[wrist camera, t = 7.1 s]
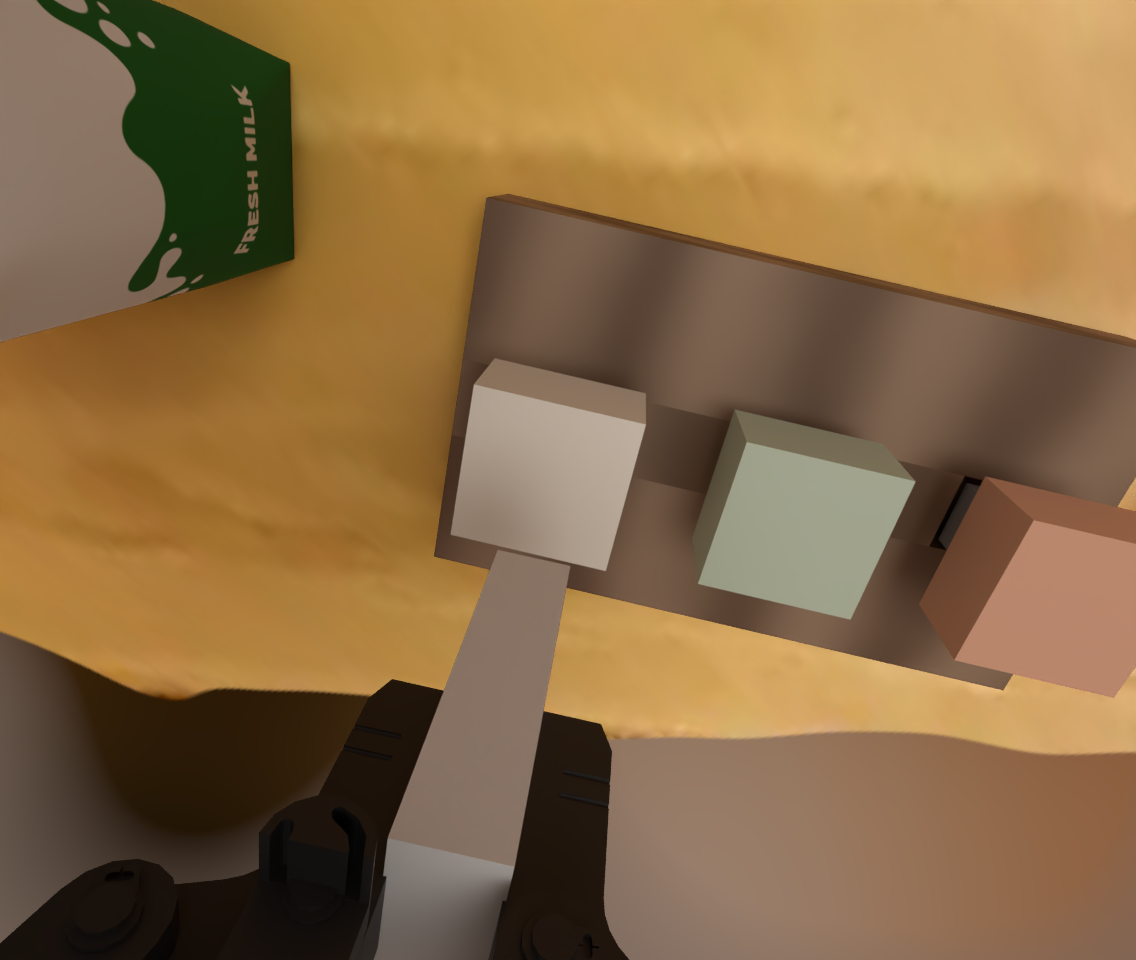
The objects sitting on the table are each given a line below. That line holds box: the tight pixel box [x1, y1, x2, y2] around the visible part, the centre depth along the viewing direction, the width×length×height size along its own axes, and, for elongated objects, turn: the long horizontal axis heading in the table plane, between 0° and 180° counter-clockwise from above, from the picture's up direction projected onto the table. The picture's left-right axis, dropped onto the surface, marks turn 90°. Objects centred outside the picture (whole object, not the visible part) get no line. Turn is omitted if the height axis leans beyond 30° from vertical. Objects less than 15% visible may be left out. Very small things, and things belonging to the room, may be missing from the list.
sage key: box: [692, 410, 916, 620], centre depth 24 cm, size 5×5×6 cm
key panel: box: [434, 194, 1136, 690], centre depth 27 cm, size 24×14×4 cm, turn 78°
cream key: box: [451, 358, 646, 571], centre depth 23 cm, size 5×5×6 cm
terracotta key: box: [919, 476, 1136, 698], centre depth 23 cm, size 5×5×6 cm
